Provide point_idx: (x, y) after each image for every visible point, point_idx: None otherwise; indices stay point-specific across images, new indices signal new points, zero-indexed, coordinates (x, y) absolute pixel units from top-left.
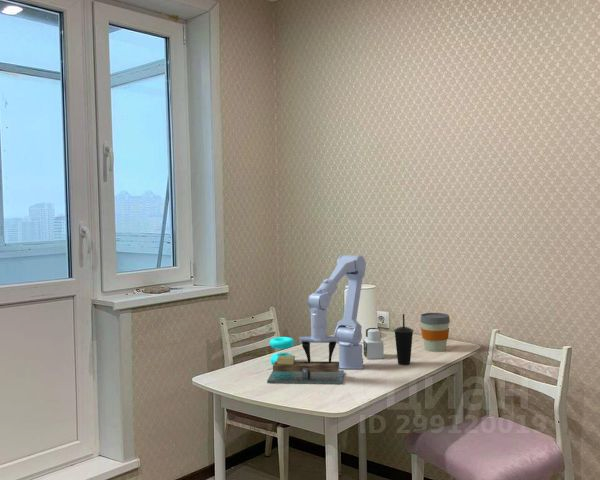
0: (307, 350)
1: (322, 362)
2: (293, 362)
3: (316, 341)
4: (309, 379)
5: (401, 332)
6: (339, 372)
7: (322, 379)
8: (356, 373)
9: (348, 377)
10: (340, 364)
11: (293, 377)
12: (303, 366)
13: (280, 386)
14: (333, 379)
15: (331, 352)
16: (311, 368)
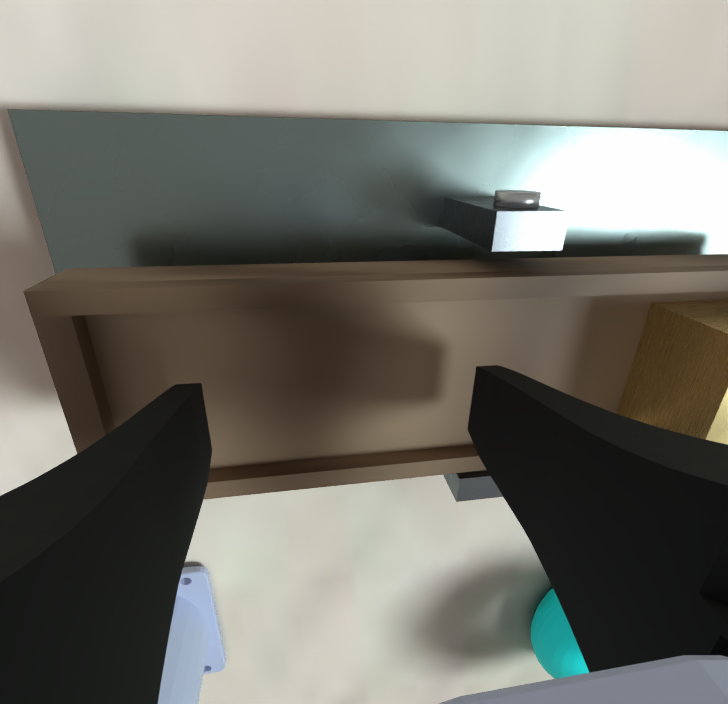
0: (644, 444)
1: (314, 467)
2: (686, 336)
3: (712, 673)
4: (427, 184)
5: None
6: None
7: (282, 192)
8: (4, 491)
9: (42, 373)
10: (189, 616)
11: (580, 248)
12: (549, 273)
13: (713, 15)
14: (150, 197)
15: (63, 478)
16: (437, 270)
